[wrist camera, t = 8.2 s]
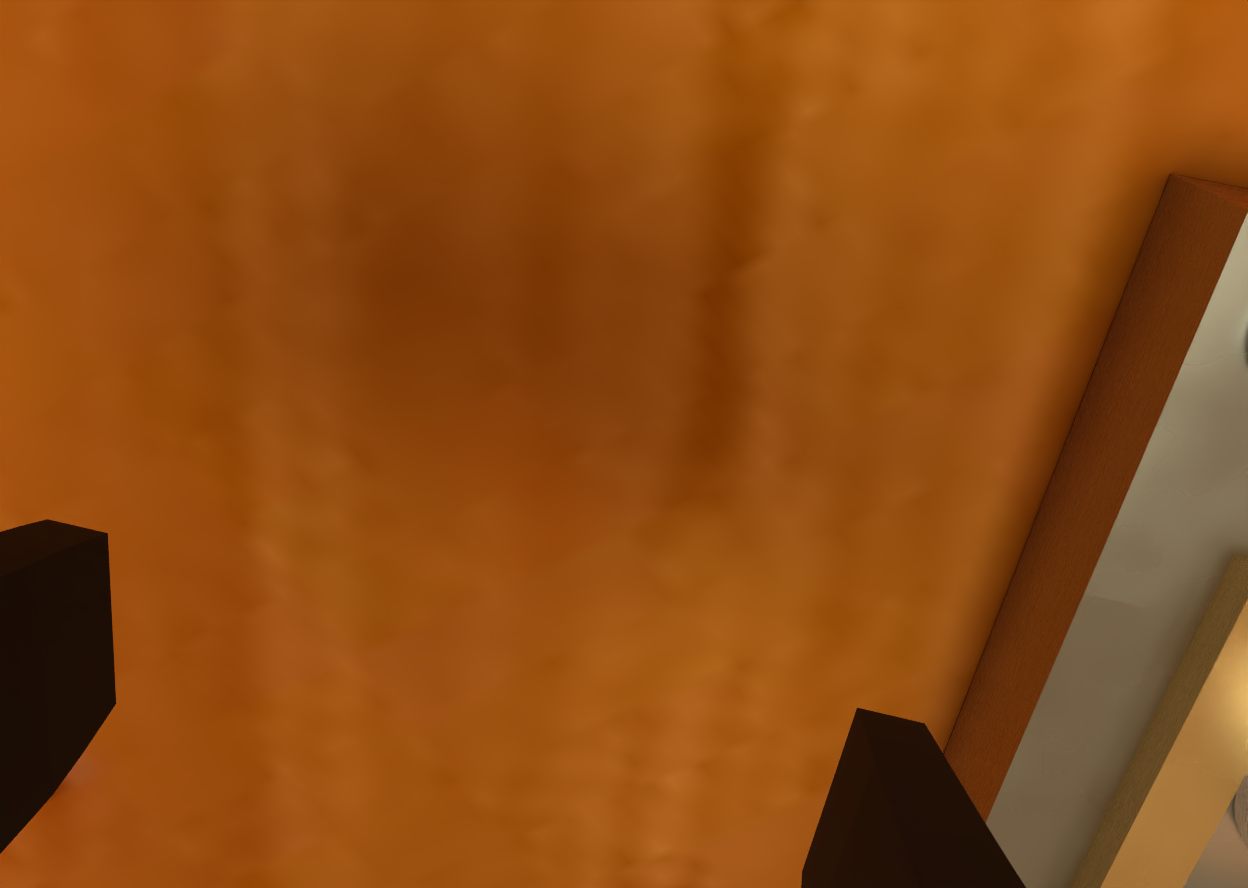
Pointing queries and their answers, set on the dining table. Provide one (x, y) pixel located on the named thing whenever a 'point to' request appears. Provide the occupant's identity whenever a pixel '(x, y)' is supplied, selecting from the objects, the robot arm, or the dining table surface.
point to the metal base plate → (1134, 593)
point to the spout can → (1242, 810)
